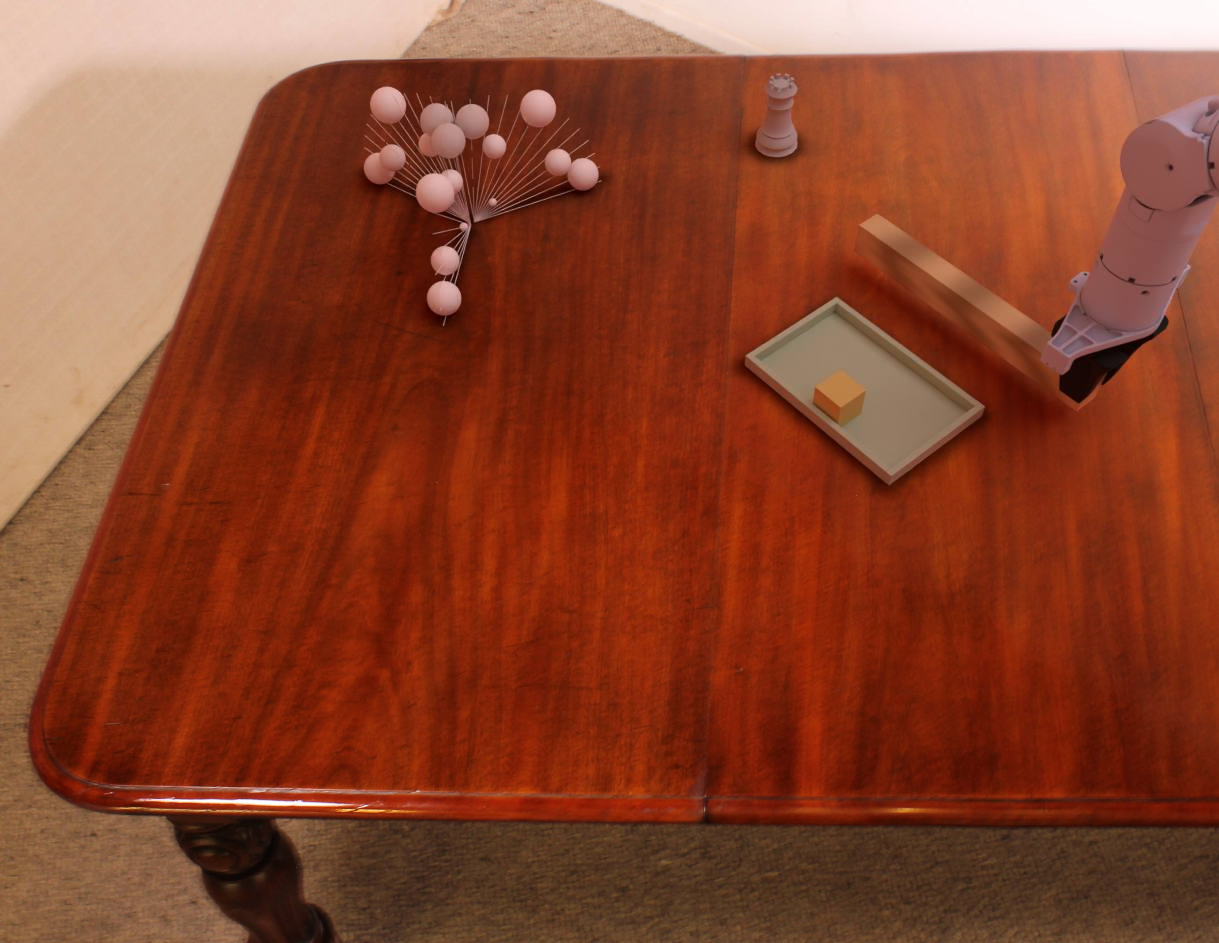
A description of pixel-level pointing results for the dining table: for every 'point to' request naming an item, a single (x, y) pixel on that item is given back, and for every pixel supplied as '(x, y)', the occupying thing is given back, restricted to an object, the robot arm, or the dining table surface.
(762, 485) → the dining table surface
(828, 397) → the cheese cube
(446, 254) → the decorative flower
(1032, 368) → the stick
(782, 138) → the rook chess piece
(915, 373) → the dish
